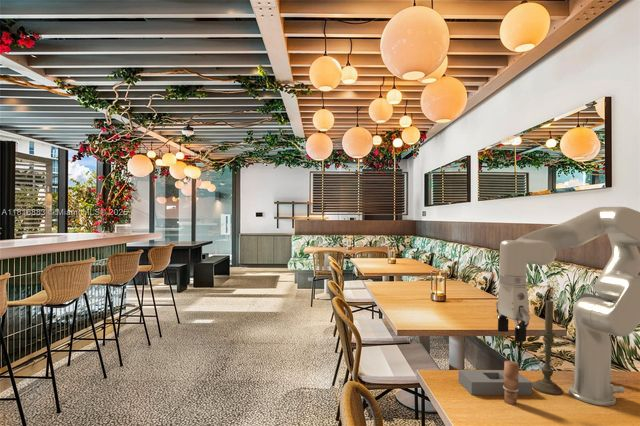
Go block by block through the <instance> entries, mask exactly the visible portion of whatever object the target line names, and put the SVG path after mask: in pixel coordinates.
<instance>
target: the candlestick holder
mask: <svg viewBox="0 0 640 426" xmlns="http://www.w3.org/2000/svg"><path fill="white" fill-rule="evenodd" d="M544 316H545V320H544V331H542V332H541V335H543V337H542V341H543V342H544V343H545V345H544V353H545V354H544V355H545V356H544V360H545V361H544V362H545V364H544V366H543V367H541V373H542V374H543V378H542V379H538V380H536V381H532V389H534V390H535V391H537V392H539V393H543V394H547V395H552V396H553V395H554V396H556V395H557V396H558V395H562V393H563V389H562V388H561V387H560V386H559V385H558V384H557V383H556V382H554V381H553V380H552V379H551V377H552V376H553V374H554V370H553V368H552V367H551V354H552V344H553V343H554V342H555V340H554V337H555V336H556V334H555V333H554V332H553V328H554V327H553V322H554V301H553V300H551V299H549V300H546V301H545V315H544Z"/></svg>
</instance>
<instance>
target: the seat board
mask: <svg viewBox="0 0 640 426" xmlns="http://www.w3.org/2000/svg"><path fill="white" fill-rule="evenodd" d="M457 382H458V383H459V384H460V385H461V386H462V387H463V388H464V389H465V390H466V391H467V392H468V393H469V394H470V395H471V396H473V395H474V396H477V395H478V396H483V395H485V396H486V395H487V396H489V395H490V396H494V395H495V396H496V395H497V396H503V395H504V394H505V389H504V388H503V385H504V369H458V381H457ZM532 383H533V381H531V380H530V379H528V378H527V377H525V376H524V375H522V374H521V373H520V372H519V376H518V392H517V396H520V395H521V396H532V395H533V387H532Z"/></svg>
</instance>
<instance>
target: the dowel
mask: <svg viewBox="0 0 640 426" xmlns="http://www.w3.org/2000/svg"><path fill="white" fill-rule="evenodd" d="M503 363H504V364H503V366H504V367H503V370H504V385H503V388H504V389H505V394H504V398H503V401H504V404H508V405H512V406H516V405H517V402H518V401H517V398H518V397H517V396H518V395H517V392H518V376H519V373H520V372H519V371H520V369H519V368H520V367H519V366H520V364H519V363H518V362H517V361H513V360H504V362H503Z"/></svg>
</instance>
